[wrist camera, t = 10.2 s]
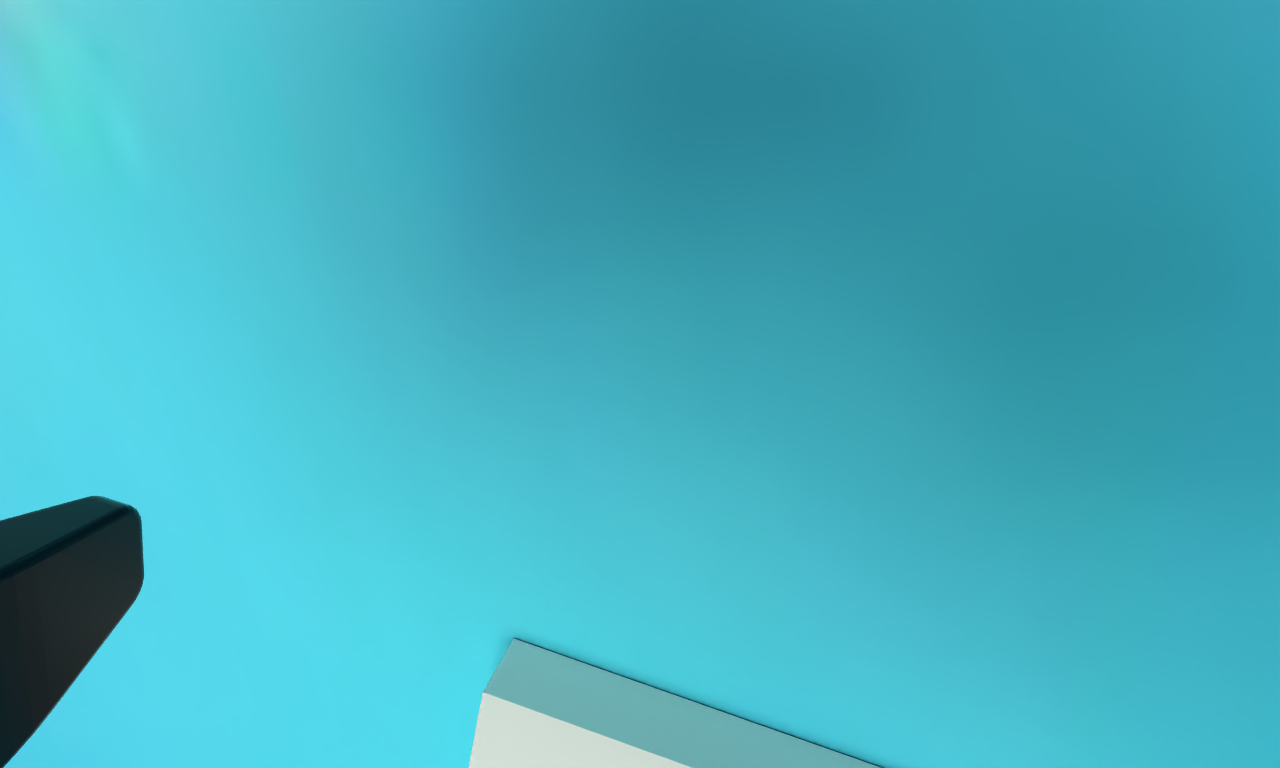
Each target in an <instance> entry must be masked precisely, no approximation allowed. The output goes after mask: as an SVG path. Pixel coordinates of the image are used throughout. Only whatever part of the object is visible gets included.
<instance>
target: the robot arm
mask: <svg viewBox="0 0 1280 768" xmlns="http://www.w3.org/2000/svg"><path fill="white" fill-rule="evenodd" d="M143 579H144V563H143V542H142V522H141V517H140V515H139V513H138V511H137V510H136V509H135V508H133V507H132V506H130V505H127V504H124V503H121V502H118V501H115V500H112V499H108V498H105V497H101V496H90V497H86V498H82V499H78V500H75V501H71V502H67V503H64V504H60V505H56V506H53V507H49V508H45V509H42V510H38V511H34V512H30V513H27V514H23V515H19V516H16V517H12V518H8V519H5V520H1V521H0V768H3V767H4V766H5V765H6V764H7V763H8V762H9V761H10V760H11V758H12V757H13V756H14V755H15V754H16V753H17V752H18V751H19V749H20V748H21V747H22V746H23V745H24V744H25V743H26V741H27V740H28V739H29V738H30V737H31V736H32V735H33V734H34V732H35V731H36V730H37V729H38V727H39V726H40V725H41V724H42V722H43V721H44V720H45V719H46V718H47V716H48V715H49V714H50V713H51V711H52V710H53V709H54V707H55V706H56V705H57V703H58V702H59V701H60V699H61V698H62V697H63V695H64V694H65V693H66V692H67V690H68V689H69V688H70V686H71V685H72V684H73V682H74V681H75V680H76V678H77V677H78V676H79V674H80V673H81V672H82V670H83V669H84V668H85V666H86V665H87V664H88V662H89V661H90V660H91V658H92V657H93V656H94V655H95V653H96V652H97V651H98V649H99V648H100V647H101V645H102V644H103V643H104V641H105V640H106V639H107V637H108V636H109V635H110V633H111V632H112V631H113V629H114V628H115V627H116V625H117V624H118V623H119V622H120V620H121V619H122V618H123V616H124V615H125V614H126V612H127V611H128V610H129V608H130V607H131V606H132V604H133V603H134V601H135V600H136V598H137V596H138V594H139V592H140V590H141V587H142V584H143Z"/></svg>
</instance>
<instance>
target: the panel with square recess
mask: <svg viewBox="0 0 1280 768" xmlns="http://www.w3.org/2000/svg"><path fill="white" fill-rule="evenodd" d="M469 768H880V767H878V766H875V765H872V764H869V763H866V762H863V761H861V760H858V759H855V758H852V757H849V756H846V755H844V754H841V753H838V752H835V751H832V750H829V749H827V748H824V747H821V746H818V745H815V744H812V743H809V742H807V741H804V740H801V739H798V738H795V737H792V736H790V735H787V734H784V733H781V732H778V731H775V730H773V729H770V728H767V727H764V726H761V725H758V724H755V723H753V722H750V721H747V720H744V719H741V718H738V717H736V716H733V715H730V714H727V713H724V712H721V711H719V710H716V709H713V708H710V707H707V706H704V705H701V704H699V703H696V702H693V701H690V700H687V699H684V698H682V697H679V696H676V695H673V694H670V693H667V692H665V691H662V690H659V689H656V688H653V687H650V686H648V685H645V684H642V683H639V682H636V681H633V680H630V679H628V678H625V677H622V676H619V675H616V674H613V673H611V672H608V671H605V670H602V669H599V668H596V667H594V666H591V665H588V664H585V663H582V662H579V661H576V660H574V659H571V658H568V657H565V656H562V655H559V654H557V653H554V652H551V651H548V650H545V649H542V648H540V647H537V646H534V645H531V644H528V643H525V642H523V641H520V640H517V639H514V638H513V640H512V642H511V644H510V645H509V647H508V649H507V651H506V652H505V654H504V656H503V658H502V659H501V661H500V663H499V665H498V666H497V668H496V670H495V672H494V673H493V675H492V677H491V679H490V680H489V682H488V684H487V686H486V687H485V689H484V691H483V694H482V699H481V705H480V710H479V715H478V721H477V726H476V731H475V737H474V742H473V747H472V753H471V758H470V763H469Z"/></svg>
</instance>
